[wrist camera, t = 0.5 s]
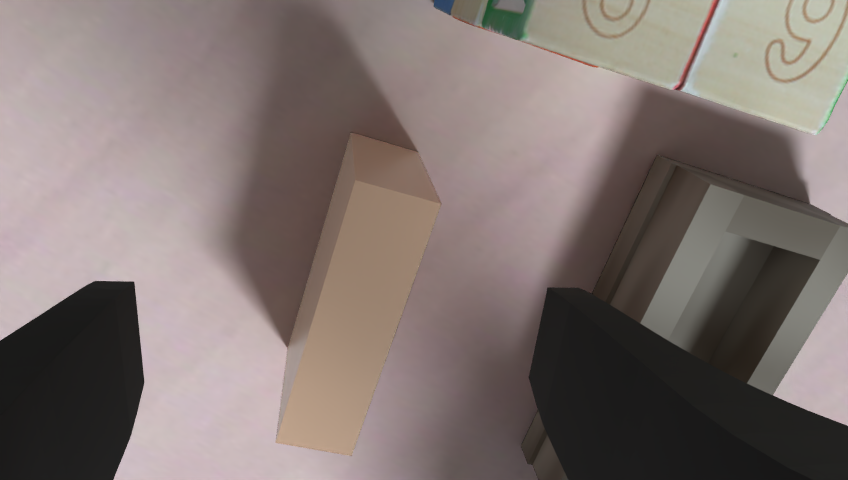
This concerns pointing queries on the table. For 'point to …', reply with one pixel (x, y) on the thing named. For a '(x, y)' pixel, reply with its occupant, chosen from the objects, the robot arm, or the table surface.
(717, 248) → the shallow rectangular tray
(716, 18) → the stack of blocks
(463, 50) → the table surface
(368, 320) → the tan rectangular block
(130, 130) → the table surface
